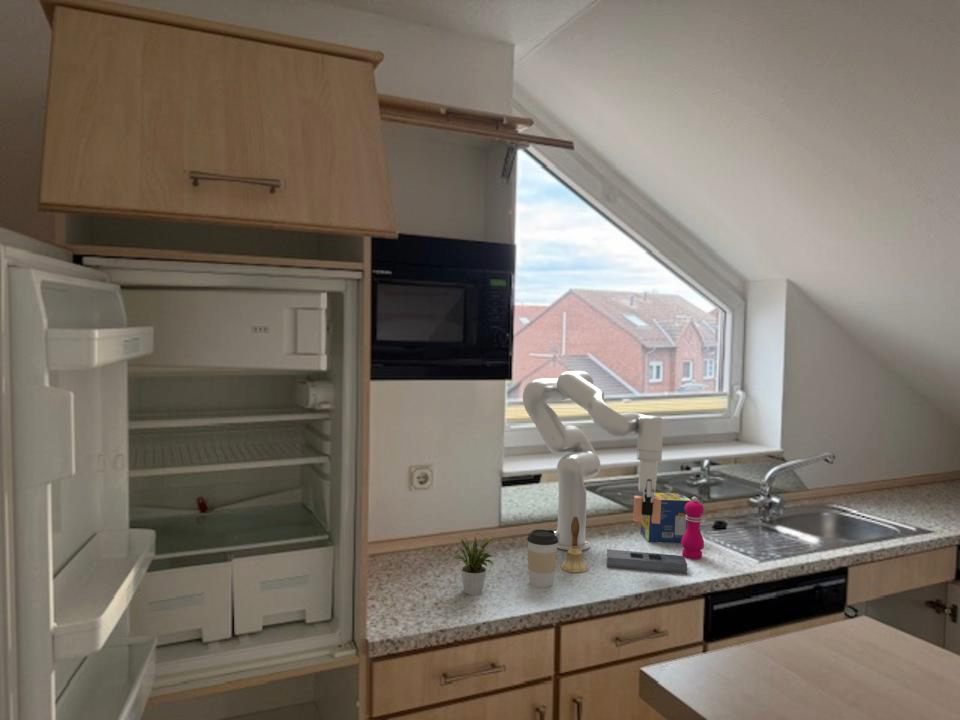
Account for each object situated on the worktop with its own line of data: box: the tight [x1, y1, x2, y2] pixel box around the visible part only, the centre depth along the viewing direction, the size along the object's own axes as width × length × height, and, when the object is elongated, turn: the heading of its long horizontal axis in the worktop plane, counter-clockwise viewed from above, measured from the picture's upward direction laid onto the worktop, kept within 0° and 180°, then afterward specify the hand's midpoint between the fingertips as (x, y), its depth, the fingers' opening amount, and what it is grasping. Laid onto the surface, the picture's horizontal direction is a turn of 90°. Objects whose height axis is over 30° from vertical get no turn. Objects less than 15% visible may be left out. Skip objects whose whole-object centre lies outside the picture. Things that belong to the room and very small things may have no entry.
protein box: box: [639, 492, 692, 544], centre depth 235 cm, size 10×15×16 cm
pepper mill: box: [680, 496, 705, 560], centre depth 216 cm, size 7×7×20 cm
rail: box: [606, 548, 688, 575], centre depth 206 cm, size 24×8×3 cm, turn 80°
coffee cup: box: [526, 529, 558, 588], centre depth 188 cm, size 9×9×15 cm
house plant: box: [446, 531, 494, 596], centre depth 180 cm, size 14×14×16 cm
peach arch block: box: [632, 495, 661, 524], centre depth 205 cm, size 8×3×8 cm, turn 78°
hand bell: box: [560, 517, 589, 574], centre depth 201 cm, size 8×8×16 cm
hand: (646, 512), depth 205 cm, fingers closed on peach arch block, 3 cm apart
